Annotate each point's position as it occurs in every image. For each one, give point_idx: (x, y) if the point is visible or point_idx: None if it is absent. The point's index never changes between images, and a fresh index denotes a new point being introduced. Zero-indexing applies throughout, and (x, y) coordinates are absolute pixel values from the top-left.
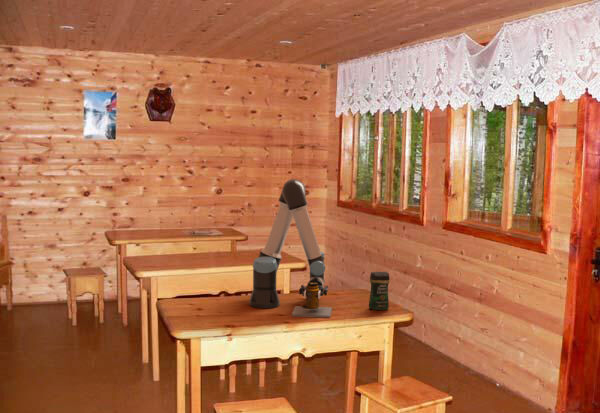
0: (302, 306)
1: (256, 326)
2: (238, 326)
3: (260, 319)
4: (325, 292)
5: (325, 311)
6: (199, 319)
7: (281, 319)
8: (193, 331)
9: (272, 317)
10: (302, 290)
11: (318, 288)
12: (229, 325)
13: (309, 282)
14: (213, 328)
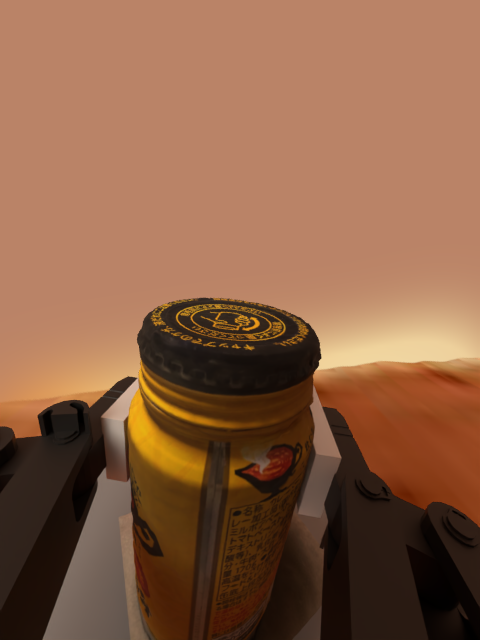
0: (310, 575)
1: (379, 369)
2: (423, 373)
3: (433, 424)
4: (15, 451)
5: (89, 535)
6: None
7: (353, 420)
8: (474, 359)
9: (412, 449)
10: (396, 514)
11: (135, 394)
12: (454, 380)
13: (296, 337)
14: (461, 367)
